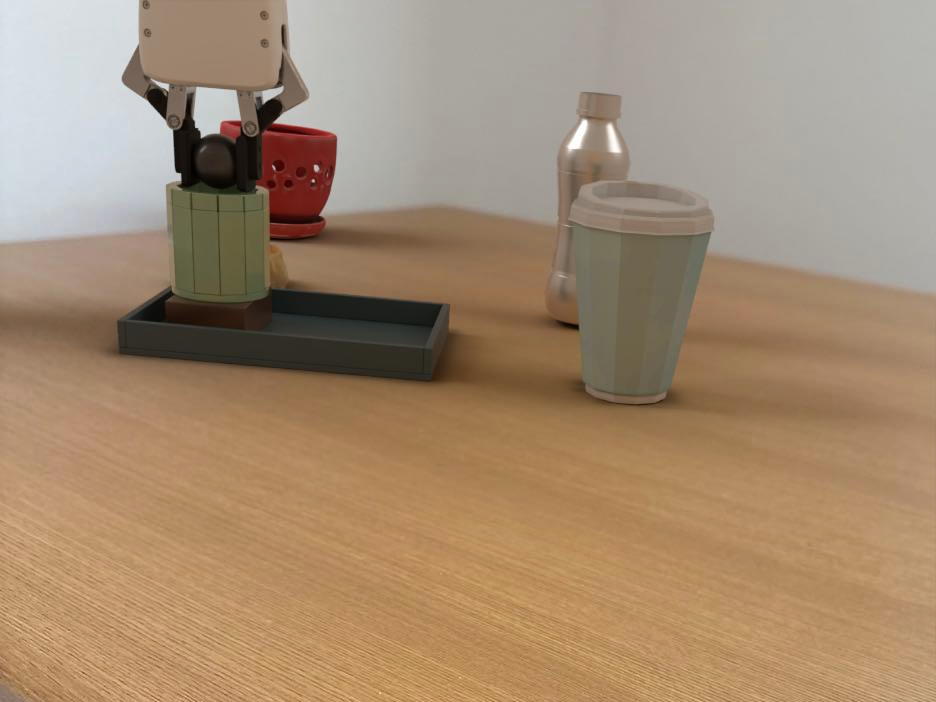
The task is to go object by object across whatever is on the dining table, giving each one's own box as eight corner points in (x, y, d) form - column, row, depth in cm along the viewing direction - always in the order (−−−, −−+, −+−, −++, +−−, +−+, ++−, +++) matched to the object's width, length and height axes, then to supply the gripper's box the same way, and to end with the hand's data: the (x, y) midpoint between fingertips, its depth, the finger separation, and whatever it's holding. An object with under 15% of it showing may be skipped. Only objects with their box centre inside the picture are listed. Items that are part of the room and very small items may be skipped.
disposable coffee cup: (709, 417, 82) (741, 205, 76) (564, 412, 80) (586, 195, 74) (670, 374, 92) (696, 183, 86) (540, 369, 90) (557, 173, 84)
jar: (159, 297, 86) (153, 189, 83) (188, 278, 93) (183, 177, 89) (256, 306, 86) (254, 198, 83) (278, 286, 93) (277, 185, 90)
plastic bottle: (601, 336, 101) (628, 98, 93) (531, 324, 103) (551, 90, 95) (622, 322, 107) (648, 97, 99) (555, 311, 109) (575, 89, 101)
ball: (185, 190, 84) (182, 133, 83) (201, 183, 88) (198, 129, 86) (239, 194, 84) (237, 138, 83) (252, 187, 88) (251, 133, 86)
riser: (166, 339, 86) (164, 300, 85) (200, 313, 95) (199, 277, 93) (245, 346, 87) (244, 308, 85) (272, 319, 95) (272, 283, 94)
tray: (118, 353, 84) (116, 320, 83) (181, 307, 98) (179, 278, 97) (430, 381, 84) (432, 349, 83) (448, 332, 98) (450, 303, 97)
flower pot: (279, 247, 125) (279, 133, 120) (197, 228, 132) (193, 119, 127) (358, 237, 136) (360, 131, 131) (279, 219, 142) (278, 118, 137)
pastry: (194, 295, 102) (192, 252, 101) (173, 279, 107) (172, 238, 106) (294, 291, 107) (293, 250, 105) (269, 276, 112) (269, 237, 110)
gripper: (338, -71, 82) (336, 190, 90) (110, -92, 82) (127, 172, 89) (319, -80, 75) (318, 203, 83) (69, -103, 75) (92, 184, 83)
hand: (219, 184), depth 86 cm, fingers closed on ball, 3 cm apart
